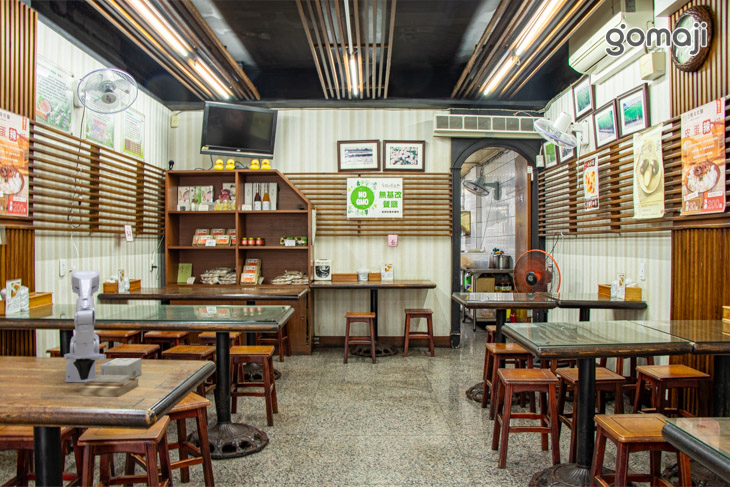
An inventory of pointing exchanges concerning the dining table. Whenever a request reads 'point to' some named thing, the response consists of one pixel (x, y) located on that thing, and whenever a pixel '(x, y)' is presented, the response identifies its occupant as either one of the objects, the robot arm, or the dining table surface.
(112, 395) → the slide box
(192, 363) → the dining table surface
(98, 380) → the cover plate
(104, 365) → the light bulb box
